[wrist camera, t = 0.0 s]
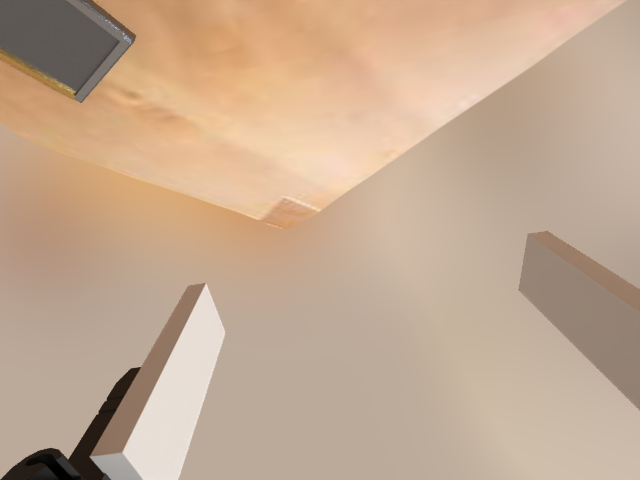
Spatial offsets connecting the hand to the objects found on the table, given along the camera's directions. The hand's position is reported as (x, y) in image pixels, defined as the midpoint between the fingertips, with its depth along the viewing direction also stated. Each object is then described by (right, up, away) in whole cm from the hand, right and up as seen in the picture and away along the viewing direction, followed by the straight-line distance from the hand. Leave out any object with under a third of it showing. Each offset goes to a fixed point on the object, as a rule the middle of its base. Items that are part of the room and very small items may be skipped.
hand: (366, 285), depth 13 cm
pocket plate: (-32, +25, +21) cm, 46 cm away
